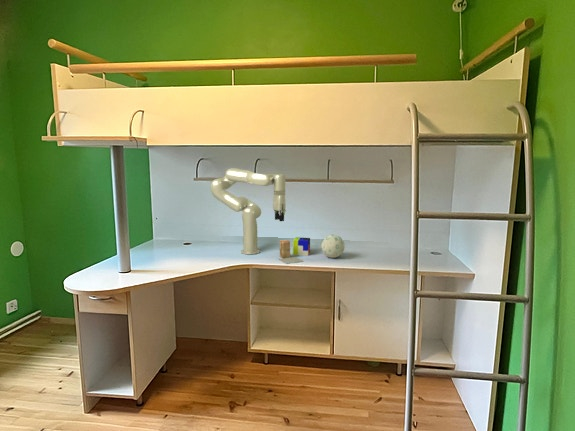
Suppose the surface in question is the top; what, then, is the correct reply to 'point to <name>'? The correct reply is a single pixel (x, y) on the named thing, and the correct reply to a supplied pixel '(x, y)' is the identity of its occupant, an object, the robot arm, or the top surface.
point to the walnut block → (284, 249)
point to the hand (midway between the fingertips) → (279, 220)
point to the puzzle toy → (301, 246)
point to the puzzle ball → (332, 246)
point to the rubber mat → (291, 260)
